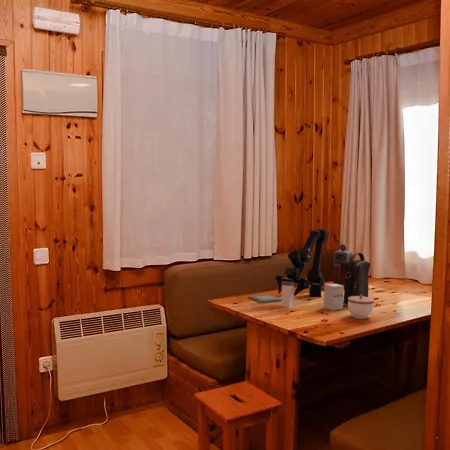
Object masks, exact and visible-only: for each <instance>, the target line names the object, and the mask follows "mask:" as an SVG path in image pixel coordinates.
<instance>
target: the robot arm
mask: <svg viewBox="0 0 450 450" xmlns="http://www.w3.org/2000/svg"><path fill="white" fill-rule="evenodd" d="M329 236H330V232H329V231H328V229H325V228H315V230H314V229H312V230H310V232H309V235H308V237H307V239H306V242H305V243H304V245H303V247H301V248H300V249H299V250H297V249H293V251H290V252H289V253H288V254H287V258H288V260H289V262H290V264H291V265H292V267H285V269H284V273H283V274H285V275H286V277H285V276H284V275H281V274H276V275H275V276H274V279H275V281H276V283H277V285H278V291H277V293H278V294H281V293H282V282H284V281H291V282H294V285H295V284H296V285H297V286H296V288H295V289H294V290H295V291H294V297H295V296H298V295H299V294H300V293H301V292H302V291H304V290H307V289H308V295H309V296H310V297H314V298H315V297H318V298H321V297H322V287H325V283H326V282H325V279H324V278H323V272H322V270H321V267H322V262H323V261H322V259H323V256H324V255H323V253H324V247H325V244H326V243H327V242H328V240H329ZM313 248H314V251H313ZM312 251H313V258H312ZM311 258H312V259H313V260H312V265H311V266H312V267H311V268H310V269H308V271H307V275H306V277H304V278H303V276H302V274H303V271H306V265H305V264H309V263H310V261H311Z"/></svg>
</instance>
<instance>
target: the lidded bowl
mask: <svg viewBox="0 0 450 450" xmlns="http://www.w3.org/2000/svg"><path fill="white" fill-rule="evenodd" d="M374 303H375V299H374V298H372V297H369V296H368V297H363V296H362V295H360V296H351V297H348V305H347V306H348V311H349V313H350V315H352V318H355V319H359V320H361V319H362V320H365V319H368V317H370V316H371V314H372V313H373V311H374V305H375V304H374Z"/></svg>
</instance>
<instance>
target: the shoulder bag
mask: <svg viewBox="0 0 450 450" xmlns="http://www.w3.org/2000/svg"><path fill="white" fill-rule="evenodd" d="M357 255H358V257H359V259H356V260H355V258H356V256H357ZM370 268H371V263H370V262H369V261H367V260H365V256H364V254H363V253H362V252H352V254H351V256H350V258H349V261H348V262H347V263H346V267H345V288H344V294H343V306H348V297H351V296H360V295H362V296H363V297H369V273H370Z"/></svg>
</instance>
